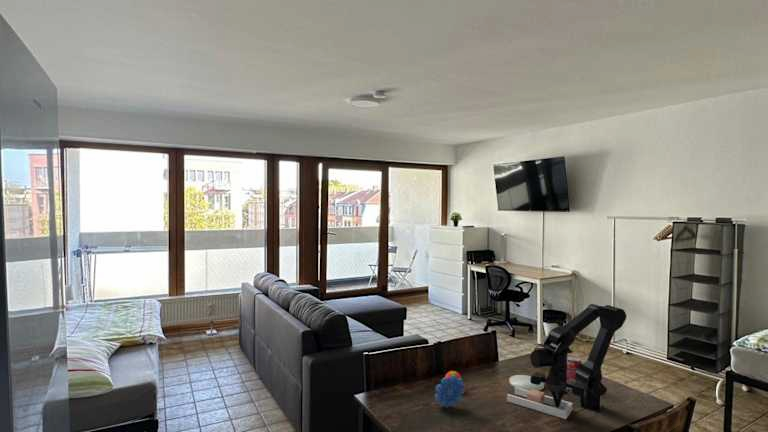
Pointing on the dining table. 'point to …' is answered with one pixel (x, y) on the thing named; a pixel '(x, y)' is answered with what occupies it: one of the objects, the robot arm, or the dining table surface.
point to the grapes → (449, 391)
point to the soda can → (572, 368)
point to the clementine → (453, 374)
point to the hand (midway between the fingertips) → (557, 406)
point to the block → (536, 396)
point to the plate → (524, 383)
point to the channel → (552, 410)
